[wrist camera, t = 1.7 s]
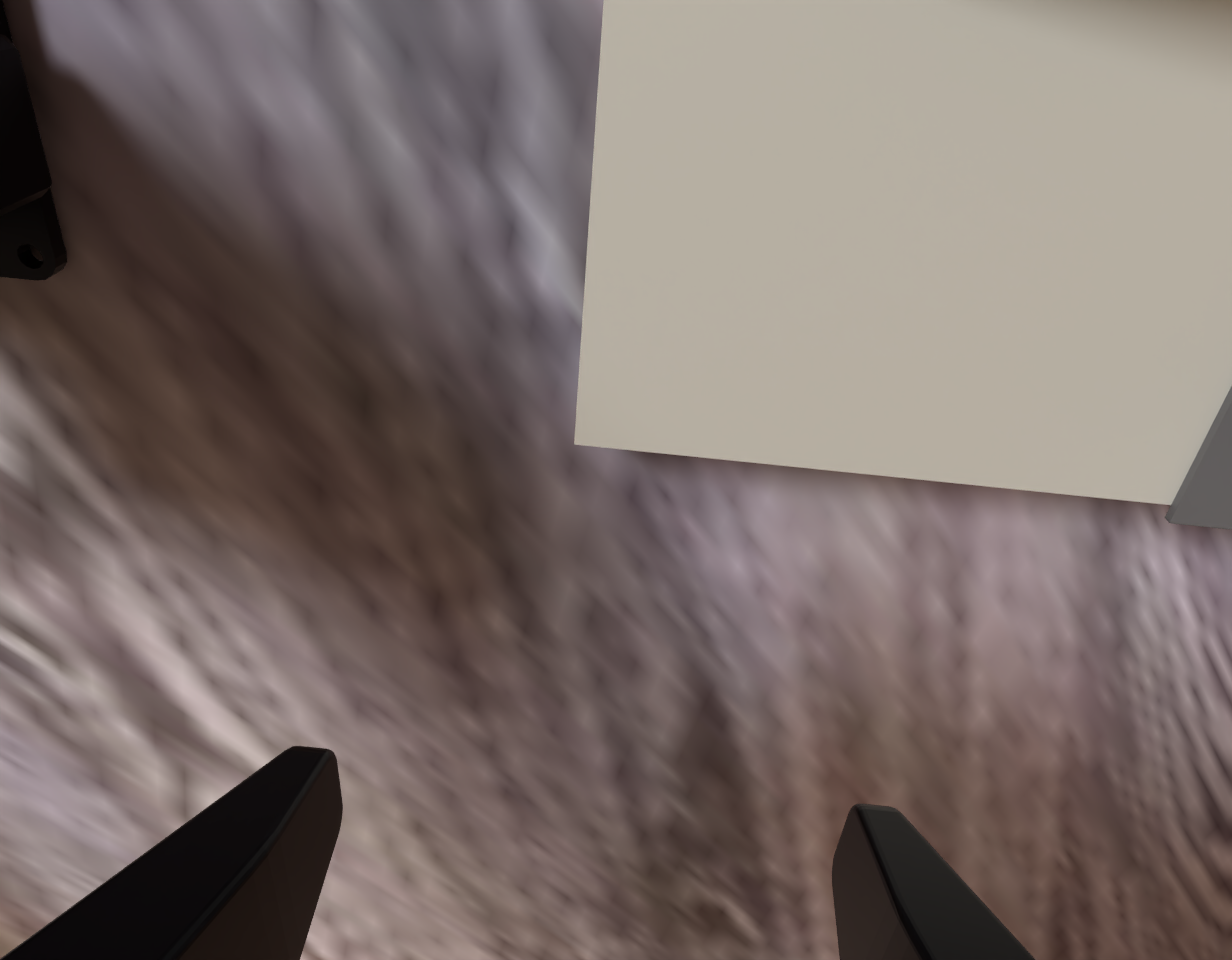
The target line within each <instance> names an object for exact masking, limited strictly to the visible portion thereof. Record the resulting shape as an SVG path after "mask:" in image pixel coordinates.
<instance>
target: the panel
mask: <svg viewBox="0 0 1232 960" xmlns="http://www.w3.org/2000/svg"><path fill="white" fill-rule="evenodd" d="M574 445H584V446H594V447H604V448H613V449H623V450H633V451H643V452H653V453H663V454H672V455H682V456H692V457H702V458H712V459H722V460H731V461H741V462H751V463H761V464H771V465H781V466H791V467H800V468H810V469H820V470H830V471H840V472H850V473H859V474H869V475H879V476H889V477H899V478H909V479H918V480H928V481H938V482H948V483H958V484H968V485H977V486H987V487H997V488H1007V489H1017V490H1027V491H1036V492H1046V493H1056V494H1066V495H1076V496H1086V497H1095V498H1105V499H1115V500H1125V501H1135V502H1145V503H1154V504H1164V505H1171V506H1170V508H1169V510H1168V512H1167V514H1166V516H1165V518H1166V519H1167V521H1168V522H1169V523H1173V524H1183V525H1193V526H1202V527H1212V528H1222V529H1232V0H604V5H603V20H602V35H601V50H600V65H599V80H598V95H597V110H596V125H595V140H594V155H593V170H592V185H591V200H590V215H589V230H588V245H587V260H586V275H585V290H584V305H583V320H582V335H581V350H580V365H579V380H578V395H577V410H576V425H575V440H574Z"/></svg>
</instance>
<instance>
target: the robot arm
mask: <svg viewBox="0 0 1232 960" xmlns="http://www.w3.org/2000/svg"><path fill="white" fill-rule="evenodd" d="M51 184H52V182H51V177H50V173H49V169H48V165H47V161H46V157H45V153H44V149H43V146H42V142H41V138H40V134H39V130H38V126H37V122H36V118H35V114H34V110H33V106H32V102H31V98H30V94H29V90H28V86H27V82H26V78H25V74H24V70H23V67H22V63H21V59H20V55H19V52H18V50H17V48H16V47H15V46H14V45H13V41H12V37H11V33H10V30H9V26H8V22H7V18H6V14H5V10H4V6H3V2H2V0H0V277H9V278H19V279H29V280H46V279H47V278H49V277H51V276H52V275H54V274H56V273H57V272H59V271H60V270H62V269H64V267H65V264H66V262H67V255H66V249H65V245H64V241H63V237H62V233H61V229H60V225H59V222H58V218H57V214H56V210H55V206H54V202H53V198H52V194H51V190H50V186H51ZM30 245H32V246H34V247H35V248H36V249H38V250H39V251H40V253H41V255H42V257H43V261H40V260H38V259H37V258H36V257H35V256H33V254H32V252H31V251H30ZM342 810H343V804H342V796H341V788H340V780H339V773H338V765H337V759H336V756H335V754H334V752H333V751H331V750H329V749H324V748H314V747H304V746H293V747H291V748H289V749H287V750H285V751H284V752H282V753H281V754H280V755H278V756H277V757H275V758H274V759H273V760H271V761H270V762H269V763H267V764H266V765H264V766H263V767H262V768H260V769H259V770H258V771H256V772H255V773H254V774H252V775H251V776H249V777H248V778H247V779H245V780H244V781H243V782H241V783H240V784H239V785H237V786H236V787H234V788H233V789H232V790H230V791H229V792H228V793H226V794H225V795H224V796H222V797H221V798H219V799H218V800H217V801H215V802H214V803H213V804H211V805H210V806H209V807H207V808H206V809H204V810H203V811H202V812H200V813H199V814H198V815H196V816H195V817H193V818H192V819H191V820H189V821H188V822H187V823H185V824H184V825H183V826H181V827H180V828H178V829H177V830H176V831H174V832H173V833H172V834H170V835H169V836H168V837H166V838H165V839H163V840H162V841H161V842H159V843H158V844H157V845H155V846H154V847H153V848H151V849H150V850H148V851H147V852H146V853H144V854H143V855H142V856H140V857H139V858H138V859H136V860H135V861H133V862H132V863H131V864H129V865H128V866H127V867H125V868H124V869H123V870H121V871H120V872H118V873H117V874H116V875H114V876H113V877H112V878H110V879H109V880H107V881H106V882H105V883H103V884H102V885H101V886H99V887H98V888H97V889H95V890H94V891H92V892H91V893H90V894H88V895H87V896H86V897H84V898H83V899H82V900H80V901H79V902H77V903H76V904H75V905H73V906H72V907H71V908H69V909H68V910H67V911H65V912H64V913H62V914H61V915H60V916H58V917H57V918H56V919H54V920H53V921H52V922H50V923H49V924H47V925H46V926H45V927H43V928H42V929H41V930H39V931H38V932H36V933H35V934H34V935H32V936H31V937H30V938H28V939H27V940H26V941H24V942H23V943H21V944H20V945H19V946H17V947H16V948H15V949H13V950H12V951H11V952H9V953H8V954H6V955H5V956H4V957H2V958H1V959H0V960H300V957H301V954H302V951H303V948H304V944H305V941H306V938H307V935H308V932H309V928H310V925H311V922H312V919H313V915H314V912H315V909H316V906H317V902H318V899H319V896H320V893H321V889H322V886H323V883H324V880H325V877H326V873H327V870H328V867H329V864H330V860H331V857H332V854H333V851H334V847H335V844H336V841H337V838H338V834H339V831H340V826H341V820H342ZM832 886H833V897H834V906H835V916H836V926H837V936H838V946H839V955H840V960H1035V959H1034V958H1033V956H1032V955H1031V954H1030V953H1029V952H1028V951H1027V950H1026V949H1025V948H1024V947H1023V946H1022V944H1021V943H1020V942H1019V941H1018V940H1017V939H1016V938H1015V937H1014V936H1013V935H1012V933H1011V932H1010V931H1009V930H1008V929H1007V928H1006V927H1005V926H1004V925H1003V924H1002V923H1001V921H1000V920H999V919H998V918H997V917H996V916H995V915H994V914H993V913H992V912H991V911H990V909H989V908H988V907H987V906H986V905H985V904H984V903H983V902H982V901H981V900H980V898H979V897H978V896H977V895H976V894H975V893H974V892H973V891H972V890H971V889H970V888H969V886H968V885H967V884H966V883H965V882H964V881H963V880H962V879H961V878H960V877H959V875H958V874H957V873H956V872H955V871H954V870H953V869H952V868H951V867H950V866H949V865H948V863H947V862H946V861H945V860H944V859H943V858H942V857H941V856H940V855H939V854H938V853H937V851H936V850H935V849H934V848H933V847H932V846H931V845H930V844H929V843H928V842H927V840H926V839H925V838H924V837H923V836H922V835H921V834H920V833H919V832H918V831H917V830H916V828H915V827H914V826H913V825H912V824H911V823H910V822H909V821H908V820H907V819H906V817H905V816H904V815H903V814H902V813H901V812H899V811H898V810H897V809H895V808H893V807H889V806H880V805H870V804H856V805H854V806H853V807H852V808H851V810H850V812H849V814H848V817H847V820H846V823H845V825H844V828H843V831H842V834H841V837H840V840H839V843H838V846H837V849H836V851H835V855H834V859H833V867H832Z"/></svg>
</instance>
